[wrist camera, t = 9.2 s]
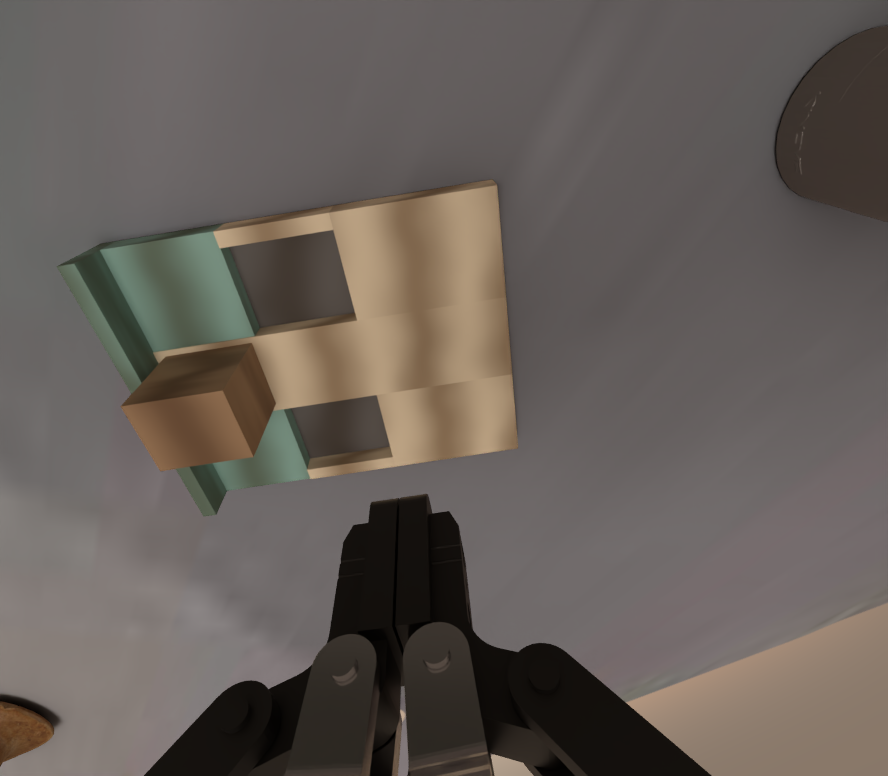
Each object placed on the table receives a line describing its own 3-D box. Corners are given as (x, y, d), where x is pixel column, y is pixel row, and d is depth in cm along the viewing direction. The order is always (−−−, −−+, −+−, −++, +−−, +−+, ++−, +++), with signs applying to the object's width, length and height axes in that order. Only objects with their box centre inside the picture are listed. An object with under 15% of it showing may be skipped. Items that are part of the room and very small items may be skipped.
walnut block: (251, 342, 33) (222, 390, 28) (276, 403, 35) (253, 456, 30) (165, 356, 33) (120, 406, 28) (196, 415, 36) (160, 471, 30)
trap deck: (492, 179, 30) (504, 193, 26) (513, 433, 41) (524, 469, 37) (100, 243, 31) (56, 266, 27) (222, 476, 41) (203, 516, 38)
